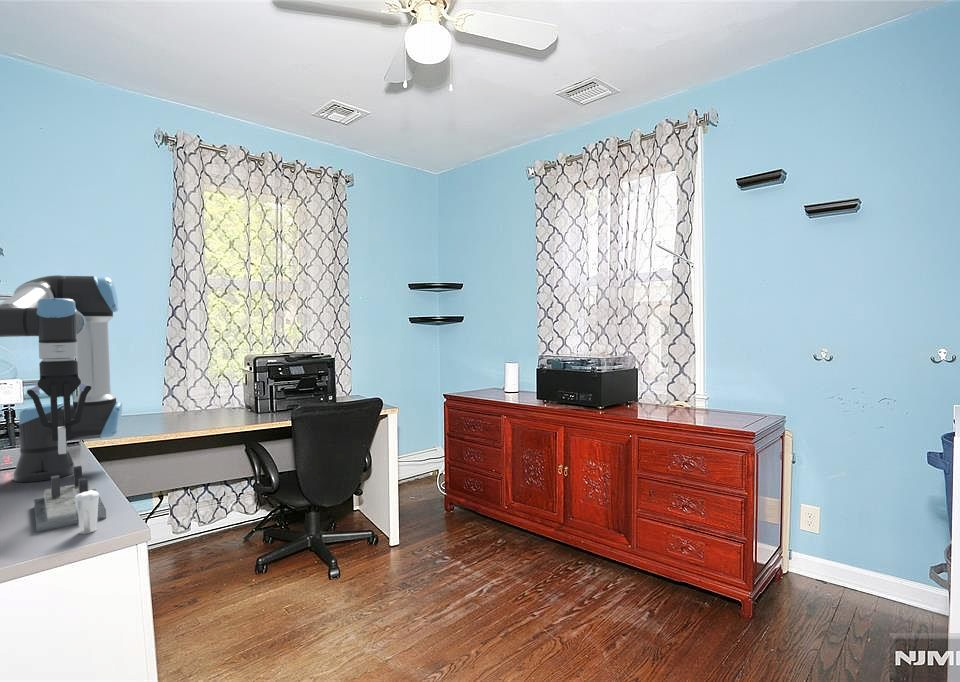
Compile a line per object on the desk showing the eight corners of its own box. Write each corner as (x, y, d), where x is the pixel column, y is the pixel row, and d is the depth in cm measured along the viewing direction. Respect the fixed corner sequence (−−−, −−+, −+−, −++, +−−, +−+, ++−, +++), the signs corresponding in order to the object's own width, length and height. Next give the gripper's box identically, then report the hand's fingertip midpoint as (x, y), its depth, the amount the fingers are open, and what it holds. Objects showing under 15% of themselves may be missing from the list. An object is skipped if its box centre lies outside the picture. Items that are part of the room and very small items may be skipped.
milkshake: (82, 527, 121) (81, 485, 121) (105, 527, 121) (103, 484, 121) (66, 535, 117) (65, 491, 117) (89, 535, 117) (88, 490, 116)
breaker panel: (34, 507, 137) (33, 470, 137) (95, 496, 146) (94, 461, 146) (36, 532, 119) (35, 490, 119) (106, 517, 128) (104, 478, 128)
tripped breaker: (51, 495, 131) (50, 476, 131) (59, 493, 132) (58, 475, 132) (51, 497, 129) (51, 478, 129) (60, 496, 130) (59, 477, 130)
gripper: (24, 361, 124) (28, 460, 125) (92, 359, 133) (95, 451, 133) (24, 360, 130) (28, 454, 130) (89, 357, 138) (92, 446, 139)
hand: (62, 452), depth 132 cm, fingers closed
